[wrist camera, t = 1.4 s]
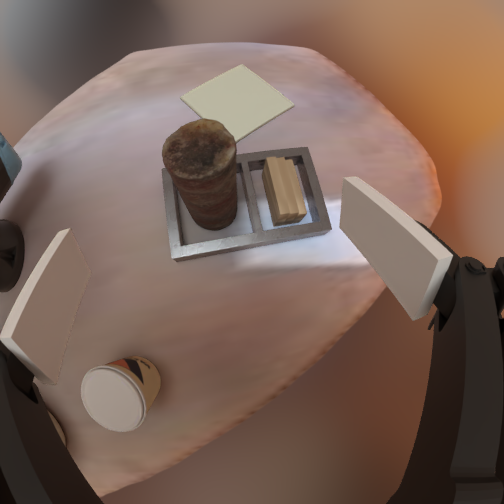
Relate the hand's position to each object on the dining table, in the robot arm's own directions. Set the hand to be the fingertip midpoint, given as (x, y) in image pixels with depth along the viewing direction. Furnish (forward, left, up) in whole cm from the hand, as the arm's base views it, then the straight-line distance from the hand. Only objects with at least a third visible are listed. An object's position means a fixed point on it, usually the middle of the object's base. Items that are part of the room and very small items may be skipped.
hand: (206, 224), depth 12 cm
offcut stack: (-4, +15, -30) cm, 34 cm away
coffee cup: (+3, -22, -30) cm, 37 cm away
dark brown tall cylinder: (-9, +6, -30) cm, 32 cm away
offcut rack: (-7, +10, -30) cm, 32 cm away
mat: (-25, +23, -30) cm, 45 cm away
